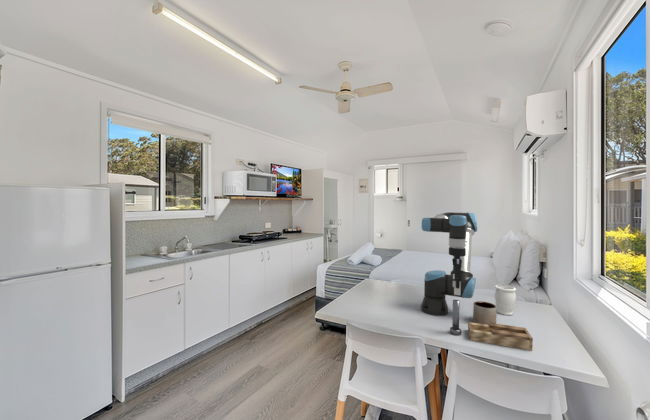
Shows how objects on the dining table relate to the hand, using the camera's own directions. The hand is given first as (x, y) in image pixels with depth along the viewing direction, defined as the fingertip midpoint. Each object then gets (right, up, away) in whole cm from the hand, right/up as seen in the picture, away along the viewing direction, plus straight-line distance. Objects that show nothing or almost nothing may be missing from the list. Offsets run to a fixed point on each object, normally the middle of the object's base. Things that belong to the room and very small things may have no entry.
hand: (456, 290), depth 138 cm
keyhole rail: (+17, -21, -6) cm, 28 cm away
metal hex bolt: (0, -21, +1) cm, 21 cm away
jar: (+41, -21, +27) cm, 53 cm away
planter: (+21, -21, +14) cm, 33 cm away
